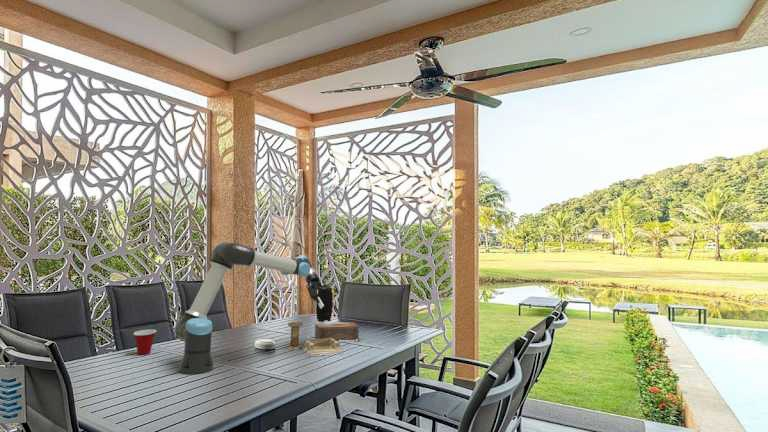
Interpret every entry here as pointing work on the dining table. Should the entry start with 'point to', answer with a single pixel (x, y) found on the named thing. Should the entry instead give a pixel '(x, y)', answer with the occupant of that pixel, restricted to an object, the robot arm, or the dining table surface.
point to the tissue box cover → (337, 331)
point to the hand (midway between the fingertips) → (328, 306)
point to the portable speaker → (327, 301)
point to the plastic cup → (144, 341)
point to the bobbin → (294, 335)
